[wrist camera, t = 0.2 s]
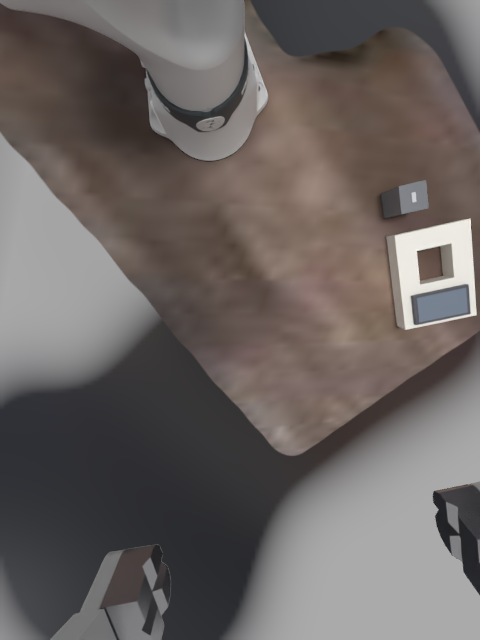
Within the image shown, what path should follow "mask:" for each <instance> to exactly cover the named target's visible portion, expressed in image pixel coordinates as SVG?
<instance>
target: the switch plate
mask: <svg viewBox="0 0 480 640" xmlns="http://www.w3.org/2000/svg"><path fill="white" fill-rule="evenodd" d="M386 238H387V247H388V255H389V264H390V272H391V280H392V289H393V297H394V306H395V314H396V322H397V326H398V327H401V328H403V329H405V330H407V329H412V328H417V327H421V326H426V325H431V324H436V323H441V322H446V321H450V320H455V319H460V318H465V317H470V316H474V315H476V299H475V283H474V268H473V252H472V236H471V221H470V219H465V220H458V221H453V222H449V223H444V224H440V225H435V226H431V227H427V228H422V229H418V230H413V231H409V232H404V233H400V234H395V235H391V236H386ZM437 246H440V249H441V261H442V273H443V276H441V277H436V278H432V279H427V280H422V281H420V279H419V269H418V259H417V251H419V250H424V249H428V248H433V247H437Z"/></svg>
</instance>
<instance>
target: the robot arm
mask: <svg viewBox="0 0 480 640" xmlns="http://www.w3.org/2000/svg"><path fill="white" fill-rule="evenodd" d="M0 3H1V4H2V5H4V6H5V7H7V8H10V9H13V10H18V11H25V12H32V13H38V14H44V15H49V16H53V17H57V18H60V19H64V20H68V21H71V22H74V23H77V24H80V25H82V26H85V27H87V28H90V29H92V30H94V31H96V32H99V33H101V34H103V35H105V36H107V37H109V38H111V39H113V40H114V41H116V42H118V43H120V44H122V45H123V46H125V47H127V48H128V49H130V50H131V51H133V52H134V53H136V54H137V55H138V57H139V58H140V61H141V65H142V67H144V68H146V78H145V86H146V89H147V92H148V105H149V118H150V125H151V127H152V129H153V131H154V132H156V133H157V134H159V135H162V136H164V137H167V138H169V139H170V140H171V141H173V142H174V143H175V144H176V145H177V146H178V147H179V148H180V149H181V150H182V151H183V152H184V153H186V154H188V155H189V156H191V157H193V158H196V159H200V160H205V161H214V160H220V159H223V158H226V157H228V156H230V155H231V154H233V153H234V152H236V151H237V150H238V149H239V148H240V147H241V146H242V145H243V144H244V142H245V141H246V139H247V138H248V136H249V134H250V132H251V129H252V126H253V123H254V121H255V119H256V117H257V115H258V114H259V113H260V112H261V111H262V110H263V109H264V107H265V106H266V104H267V102H268V93H267V90H266V88H265V85H264V82H263V79H262V77H261V74H260V71H259V69H258V66H257V63H256V61H255V58H254V55H253V53H252V50H251V47H250V44H249V42H248V39H247V36H246V34H245V7H244V0H0ZM259 89H260V91H259ZM155 116H156V117H155ZM433 503H434V504H435V505H436V507H437V508H438V509H439V510H438V512H437V514H436V515H435V518H436V524H437V528H438V531H439V533H440V536H441V538H442V540H443V542H444V544H445V546H446V547H447V549H448V550H449V552H450V553H451V555H452V556H454V557H456V558H457V559H459V560H460V561H462V563H463V571H464V573H465V575H466V576H467V578H468V579H469V580H470V582H471V583H472V585H473V586H474V588H475V589H476V591H477V592H478V593H479V595H480V482H476V483H471V484H466V485H462V486H456V487H452V488H447V489H442V490H437V491H434V492H433ZM162 556H163V553H162V550H161V548H160V545H150V546H144V547H137V548H131V549H125V550H121V551H114V552H109V553H108V554H107V555H106V557H105V558H104V560H103V562H102V565H101V567H100V569H99V571H98V573H97V576H96V578H95V580H94V582H93V584H92V587H91V589H90V591H89V593H88V595H87V598H86V600H85V602H84V604H83V606H82V609H81V611H80V613H77V614H74V615H73V616H72V617H71V618H70V619H69V620H68V621H67V622H66V624H65V625H64V626H63V627H62V628H61V629H60V630H59V631H58V632H57V633H56V634H55V635H54V636H53V637H52V638H51V639H50V640H161V637H162V633H163V628H164V623H163V620H162V617H161V615H162V614H163V612H164V611H165V610H166V609H167V607H168V604H169V599H170V591H171V590H170V589H171V580H170V573H169V570H168V567H167V565H165V564H164V563H163V562H161V560H162Z"/></svg>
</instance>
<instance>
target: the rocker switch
mask: <svg viewBox="0 0 480 640" xmlns="http://www.w3.org/2000/svg"><path fill="white" fill-rule="evenodd" d="M381 198H382V206H383V214H384V218H389V217H393V216H397V215H402V214H406V213H411V212H415V211H419V210H423V209H427V208H429V207H428V196H427V185H426V180H424V181H420V182H416V183H411V184H407V185H403V186H398V187H396V188H394V189H391V190H389V191H387V192H384V193H382V194H381Z"/></svg>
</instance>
